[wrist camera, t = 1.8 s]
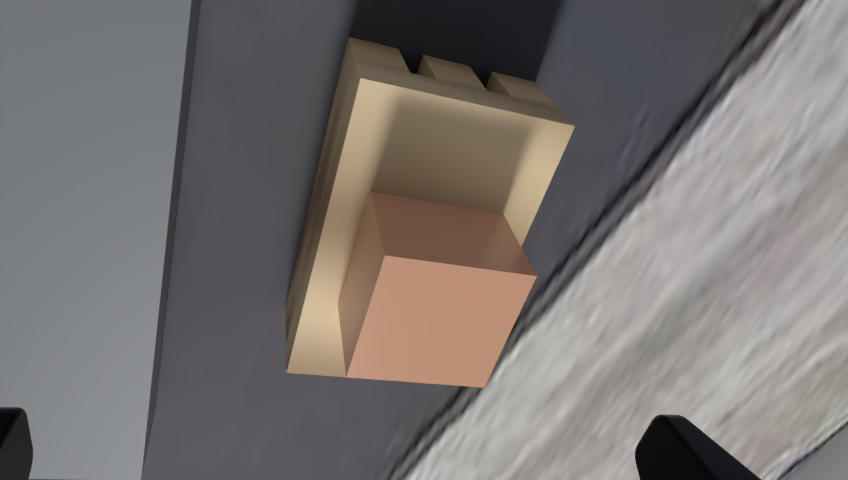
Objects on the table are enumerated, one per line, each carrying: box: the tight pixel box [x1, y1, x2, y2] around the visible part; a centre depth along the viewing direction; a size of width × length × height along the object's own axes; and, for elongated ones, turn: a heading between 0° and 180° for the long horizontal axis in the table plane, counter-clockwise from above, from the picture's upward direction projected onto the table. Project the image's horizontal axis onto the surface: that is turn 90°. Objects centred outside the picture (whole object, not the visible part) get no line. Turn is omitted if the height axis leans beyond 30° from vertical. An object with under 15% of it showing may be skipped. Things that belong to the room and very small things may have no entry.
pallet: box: [285, 37, 575, 377], centre depth 20 cm, size 10×6×4 cm, turn 163°
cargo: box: [338, 191, 537, 387], centre depth 18 cm, size 4×4×3 cm
